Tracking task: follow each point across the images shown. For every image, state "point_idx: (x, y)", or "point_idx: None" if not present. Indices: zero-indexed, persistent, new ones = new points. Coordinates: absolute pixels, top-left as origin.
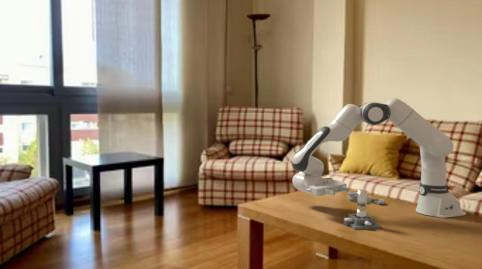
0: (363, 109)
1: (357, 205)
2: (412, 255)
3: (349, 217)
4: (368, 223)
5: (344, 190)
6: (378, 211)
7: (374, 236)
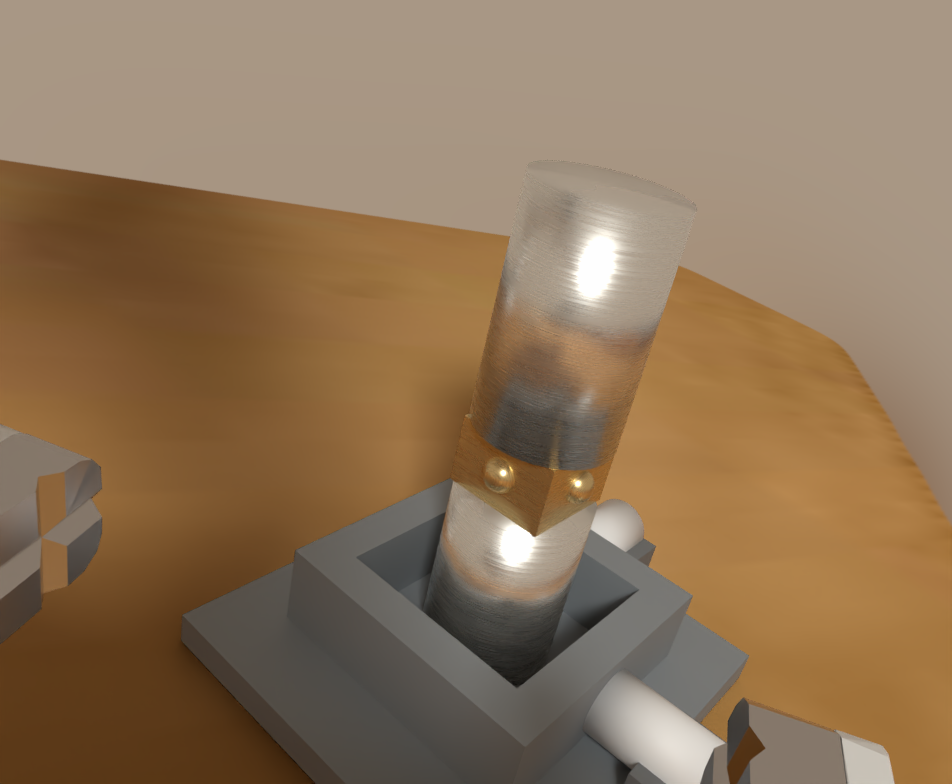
0: None
1: (559, 480)
2: (825, 379)
3: (549, 746)
4: (635, 517)
5: (21, 582)
6: None
7: (741, 520)
